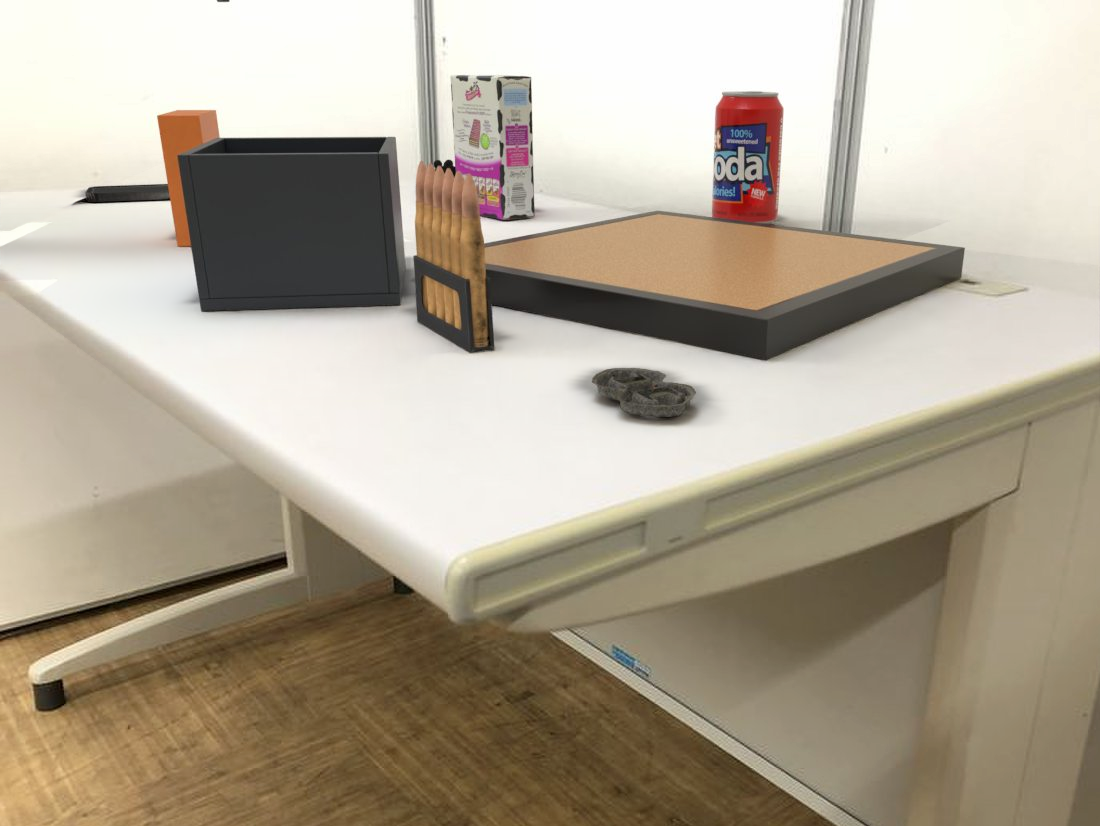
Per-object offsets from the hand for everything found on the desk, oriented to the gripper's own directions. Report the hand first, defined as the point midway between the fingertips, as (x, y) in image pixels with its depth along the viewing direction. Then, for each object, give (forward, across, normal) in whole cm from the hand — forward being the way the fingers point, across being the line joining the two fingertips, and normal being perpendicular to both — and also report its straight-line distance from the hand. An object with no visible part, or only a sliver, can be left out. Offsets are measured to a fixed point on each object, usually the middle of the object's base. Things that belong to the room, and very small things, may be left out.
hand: (181, 1), depth 109 cm
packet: (+24, +2, +2) cm, 24 cm away
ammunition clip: (+24, 0, +54) cm, 59 cm away
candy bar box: (+24, -33, +5) cm, 41 cm away
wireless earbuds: (+24, -36, -12) cm, 44 cm away
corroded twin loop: (+24, 0, +75) cm, 79 cm away
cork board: (+24, -26, +52) cm, 63 cm away
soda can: (+24, -53, +30) cm, 65 cm away
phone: (+24, -3, -35) cm, 43 cm away
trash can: (+24, +2, +33) cm, 40 cm away
